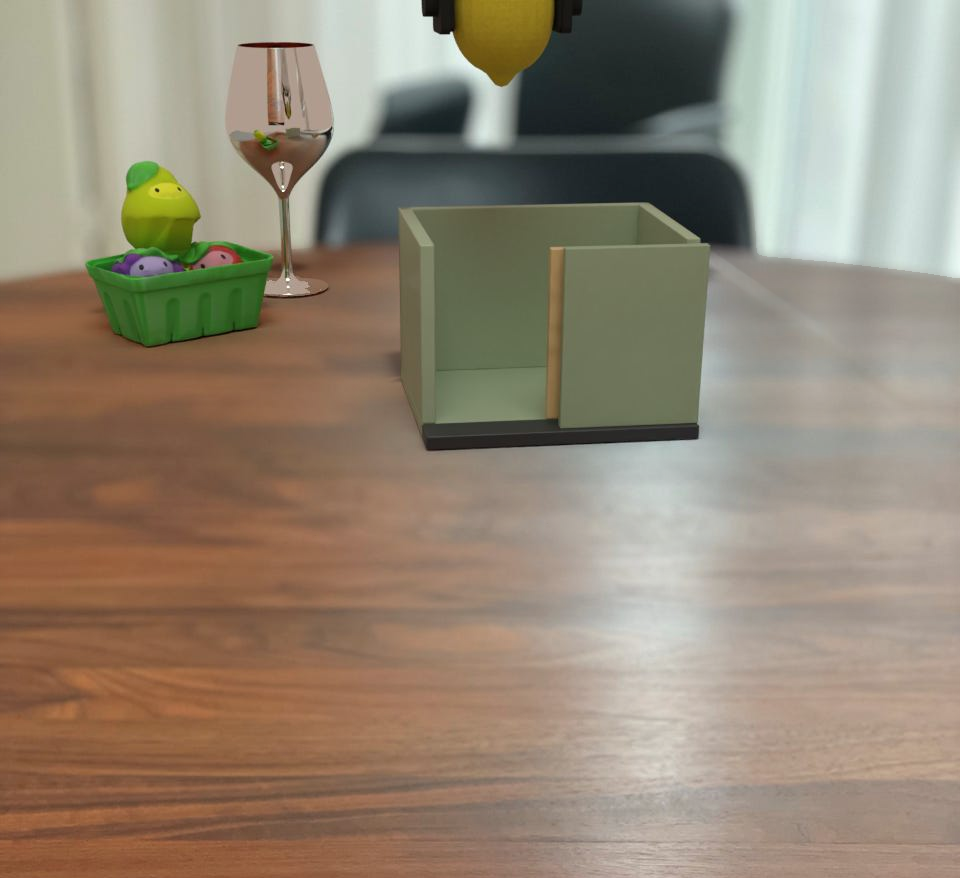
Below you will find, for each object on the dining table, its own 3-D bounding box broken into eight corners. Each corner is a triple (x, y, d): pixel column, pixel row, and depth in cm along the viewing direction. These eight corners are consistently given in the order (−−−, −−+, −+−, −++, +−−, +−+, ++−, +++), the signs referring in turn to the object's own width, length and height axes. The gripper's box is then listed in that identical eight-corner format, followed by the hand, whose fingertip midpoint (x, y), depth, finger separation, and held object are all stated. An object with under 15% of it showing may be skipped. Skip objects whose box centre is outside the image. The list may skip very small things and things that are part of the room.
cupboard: (639, 372, 98) (648, 202, 93) (698, 439, 85) (712, 246, 81) (401, 381, 95) (398, 207, 91) (426, 450, 83) (424, 253, 78)
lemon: (574, 87, 80) (578, -79, 77) (502, 94, 77) (503, -78, 73) (500, 79, 84) (501, -79, 80) (428, 86, 80) (426, -79, 77)
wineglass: (215, 288, 119) (197, 44, 111) (296, 272, 124) (284, 39, 116) (279, 305, 114) (266, 51, 106) (361, 288, 119) (353, 45, 111)
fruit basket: (138, 354, 101) (122, 181, 96) (80, 329, 107) (61, 164, 102) (282, 328, 107) (274, 165, 102) (219, 306, 113) (208, 150, 108)
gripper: (658, -359, 76) (641, 26, 84) (319, -370, 73) (333, 28, 81) (702, -385, 69) (678, 36, 77) (330, -398, 67) (344, 39, 75)
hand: (501, 28), depth 79 cm, fingers closed on lemon, 5 cm apart
